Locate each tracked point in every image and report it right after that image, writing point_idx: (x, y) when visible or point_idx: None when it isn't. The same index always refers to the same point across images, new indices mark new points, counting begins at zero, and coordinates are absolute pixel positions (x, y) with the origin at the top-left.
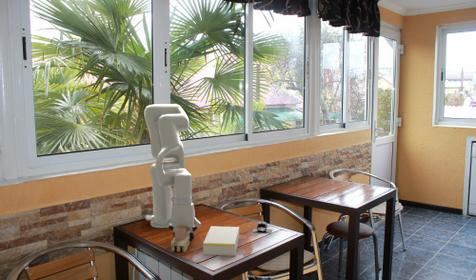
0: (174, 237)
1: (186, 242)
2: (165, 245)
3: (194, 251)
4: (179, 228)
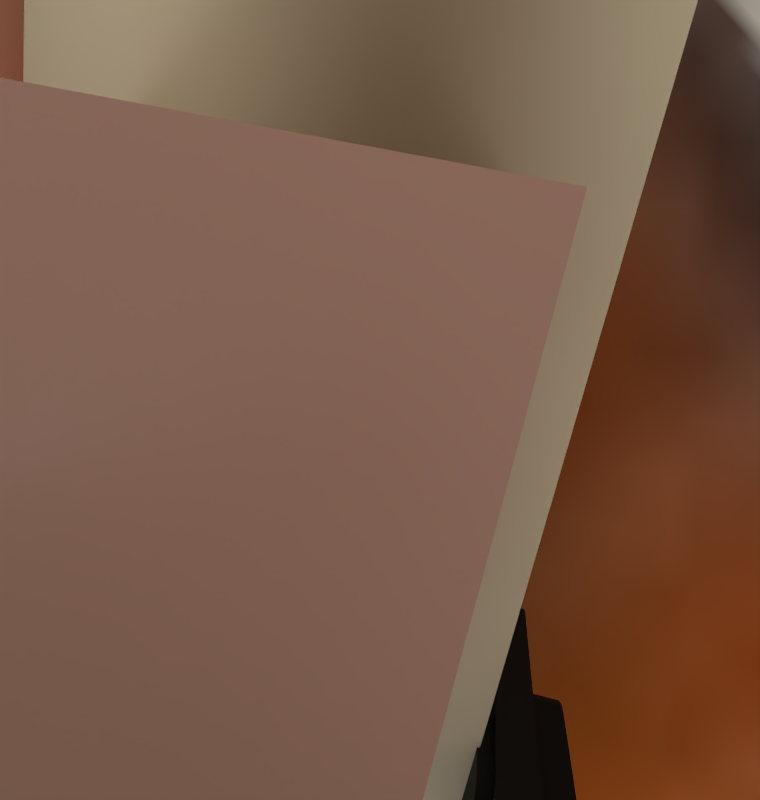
0: (537, 482)
1: None
2: (753, 528)
3: (3, 47)
4: (139, 761)
